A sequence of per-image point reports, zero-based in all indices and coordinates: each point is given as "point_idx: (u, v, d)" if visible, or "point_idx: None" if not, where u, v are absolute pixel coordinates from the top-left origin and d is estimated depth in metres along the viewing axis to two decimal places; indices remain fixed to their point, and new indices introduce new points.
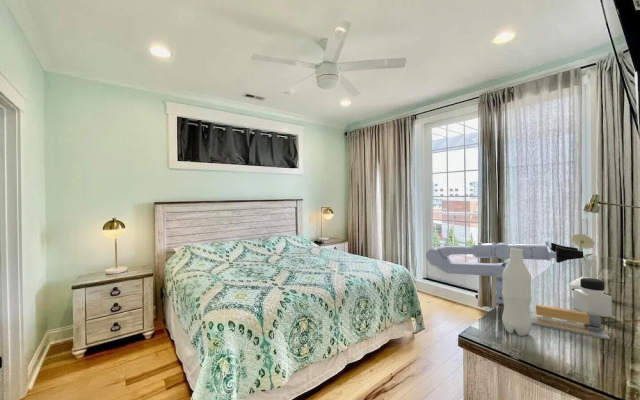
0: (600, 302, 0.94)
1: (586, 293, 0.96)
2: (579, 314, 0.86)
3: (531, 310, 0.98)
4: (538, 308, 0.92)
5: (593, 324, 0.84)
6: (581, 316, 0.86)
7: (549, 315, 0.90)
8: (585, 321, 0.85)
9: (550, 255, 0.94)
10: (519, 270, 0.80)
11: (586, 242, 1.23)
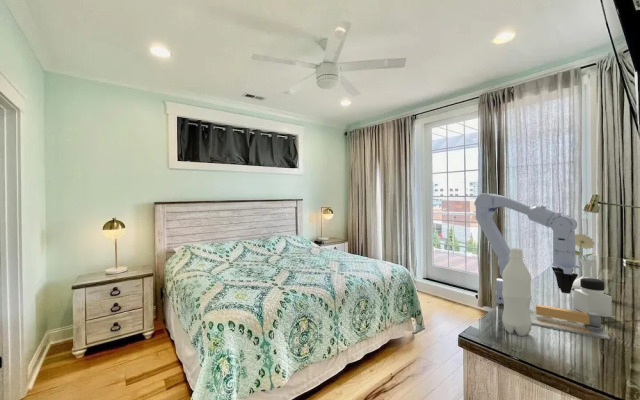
0: (600, 302, 0.94)
1: (586, 293, 0.96)
2: (579, 314, 0.86)
3: (531, 310, 0.98)
4: (538, 308, 0.92)
5: (593, 324, 0.84)
6: (581, 316, 0.86)
7: (549, 315, 0.90)
8: (585, 321, 0.85)
9: (567, 269, 0.88)
10: (519, 270, 0.80)
11: (586, 242, 1.23)
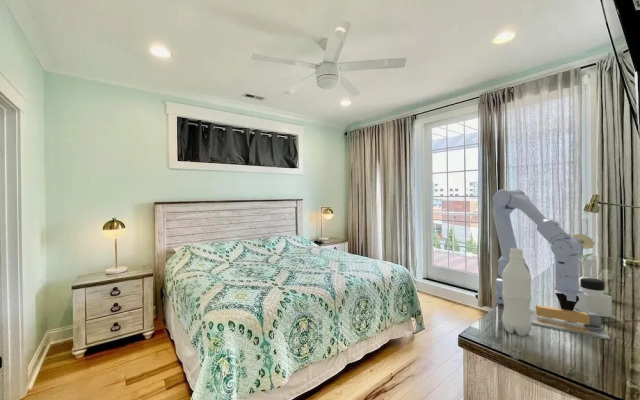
0: (600, 302, 0.94)
1: (586, 293, 0.96)
2: (579, 314, 0.86)
3: (531, 310, 0.98)
4: (538, 309, 0.91)
5: (593, 324, 0.84)
6: (581, 316, 0.86)
7: (549, 316, 0.90)
8: (585, 321, 0.85)
9: (571, 295, 0.84)
10: (519, 270, 0.80)
11: (586, 242, 1.23)
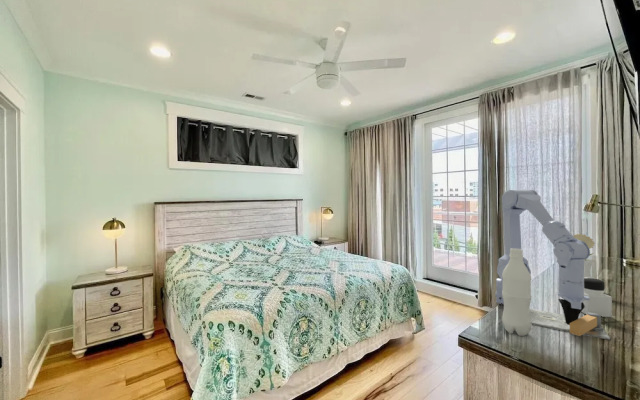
0: (600, 302, 0.94)
1: (586, 293, 0.96)
2: (594, 319, 0.82)
3: (531, 310, 0.98)
4: (580, 328, 0.77)
5: (600, 325, 0.83)
6: (594, 320, 0.83)
7: (584, 331, 0.79)
8: (595, 324, 0.83)
9: (576, 303, 0.78)
10: (519, 270, 0.80)
11: (586, 242, 1.23)
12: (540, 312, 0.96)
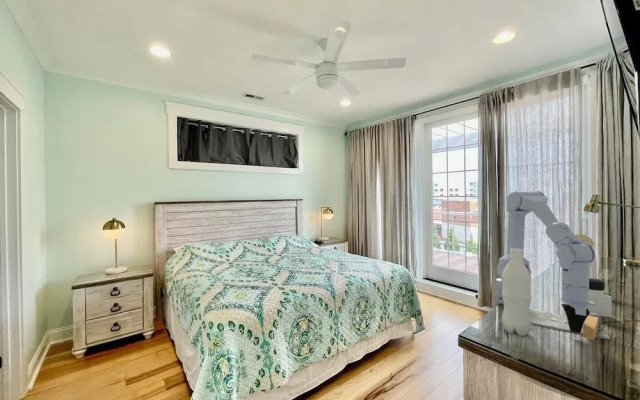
0: (600, 302, 0.94)
1: None
2: (597, 320, 0.82)
3: (531, 310, 0.98)
4: (594, 331, 0.75)
5: (600, 324, 0.84)
6: (597, 321, 0.82)
7: (595, 334, 0.77)
8: (598, 324, 0.83)
9: (580, 309, 0.73)
10: (519, 270, 0.80)
11: (586, 242, 1.23)
12: (540, 312, 0.96)
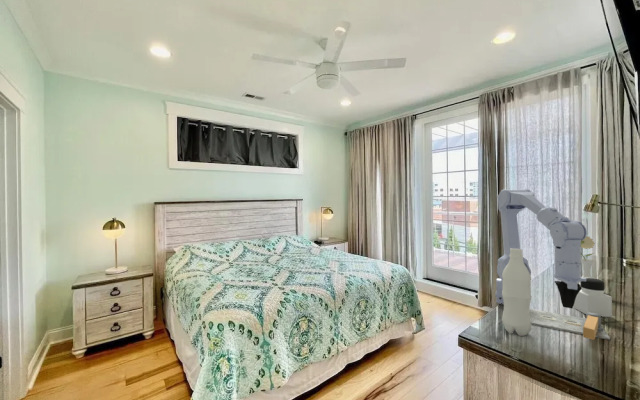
0: (600, 302, 0.94)
1: (586, 293, 0.96)
2: (597, 320, 0.82)
3: (531, 310, 0.98)
4: (594, 331, 0.75)
5: (600, 324, 0.84)
6: (597, 321, 0.82)
7: (595, 334, 0.77)
8: (598, 324, 0.83)
9: (572, 283, 0.76)
10: (519, 270, 0.80)
11: (586, 242, 1.23)
12: (540, 312, 0.96)
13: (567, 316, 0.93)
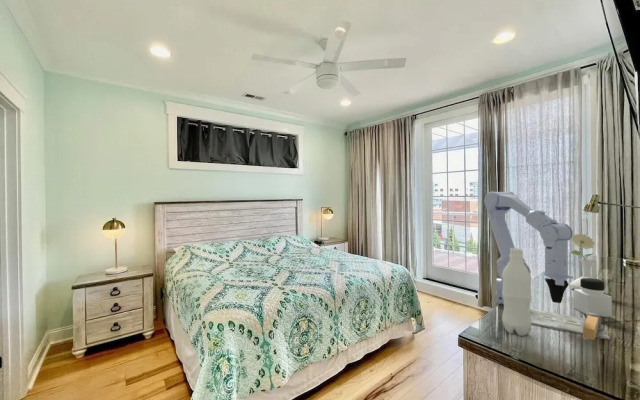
0: (600, 302, 0.94)
1: (586, 293, 0.96)
2: (597, 320, 0.82)
3: (531, 310, 0.98)
4: (594, 331, 0.75)
5: (600, 324, 0.84)
6: (597, 321, 0.82)
7: (595, 334, 0.77)
8: (598, 324, 0.83)
9: (559, 280, 0.84)
10: (519, 270, 0.80)
11: (586, 242, 1.23)
12: (540, 312, 0.96)
13: (567, 316, 0.93)
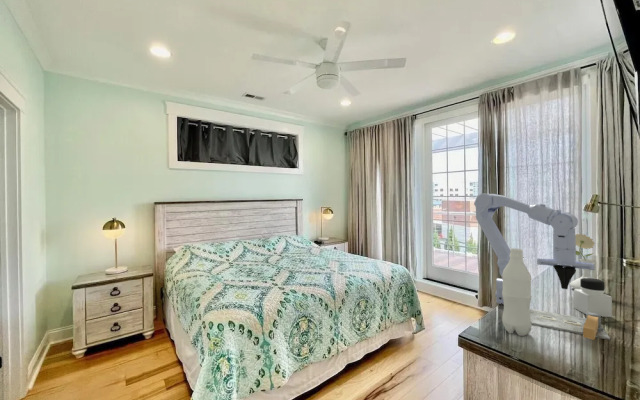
0: (600, 302, 0.94)
1: (586, 293, 0.96)
2: (597, 320, 0.82)
3: (531, 310, 0.98)
4: (594, 331, 0.75)
5: (600, 324, 0.84)
6: (597, 321, 0.82)
7: (595, 334, 0.77)
8: (598, 324, 0.83)
9: (537, 259, 0.97)
10: (519, 270, 0.80)
11: (586, 242, 1.23)
12: (540, 312, 0.96)
13: (567, 316, 0.93)
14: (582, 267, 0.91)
